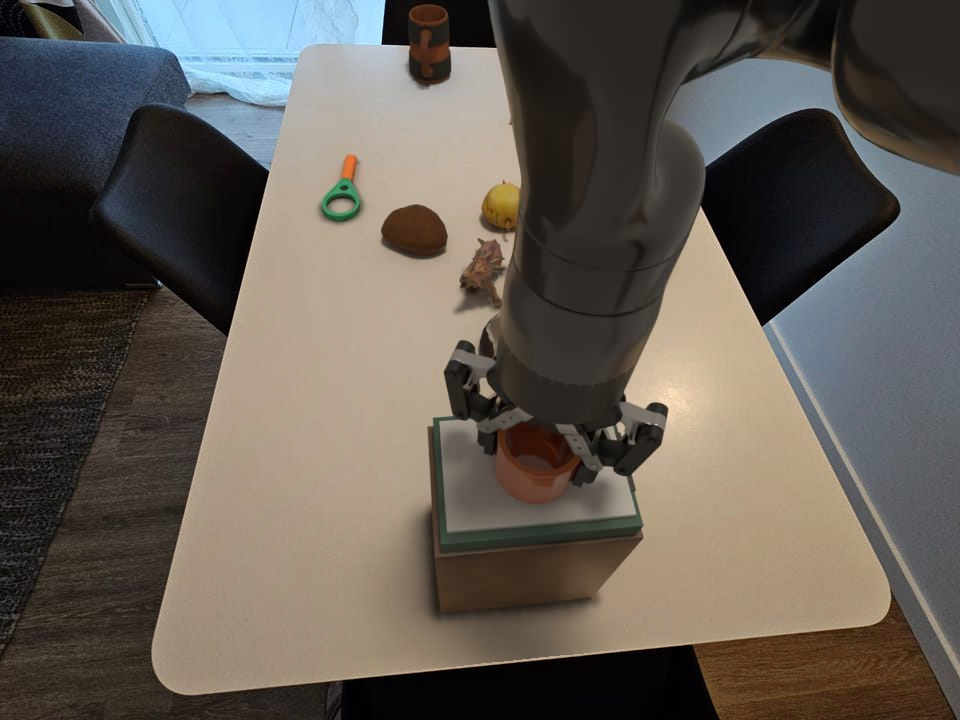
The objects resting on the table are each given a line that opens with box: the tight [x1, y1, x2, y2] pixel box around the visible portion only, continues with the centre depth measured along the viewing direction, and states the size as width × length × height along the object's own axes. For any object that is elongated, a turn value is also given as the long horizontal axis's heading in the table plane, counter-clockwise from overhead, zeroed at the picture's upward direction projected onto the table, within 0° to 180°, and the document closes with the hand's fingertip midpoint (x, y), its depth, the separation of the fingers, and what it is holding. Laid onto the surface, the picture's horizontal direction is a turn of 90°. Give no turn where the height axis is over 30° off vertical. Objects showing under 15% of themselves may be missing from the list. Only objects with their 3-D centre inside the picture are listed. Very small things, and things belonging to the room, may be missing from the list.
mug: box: [407, 4, 452, 85], centre depth 112 cm, size 9×12×12 cm
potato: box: [380, 203, 449, 255], centre depth 86 cm, size 7×10×7 cm
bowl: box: [494, 422, 582, 504], centre depth 42 cm, size 6×6×5 cm
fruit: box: [481, 179, 520, 233], centre depth 90 cm, size 7×7×10 cm
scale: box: [432, 415, 644, 552], centre depth 45 cm, size 15×10×3 cm
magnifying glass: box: [321, 154, 361, 222], centre depth 95 cm, size 15×6×2 cm, turn 179°
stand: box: [427, 425, 644, 614], centre depth 54 cm, size 16×11×20 cm
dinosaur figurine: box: [459, 237, 507, 309], centre depth 81 cm, size 14×6×9 cm, turn 173°
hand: (535, 459), depth 43 cm, fingers closed on bowl, 6 cm apart
